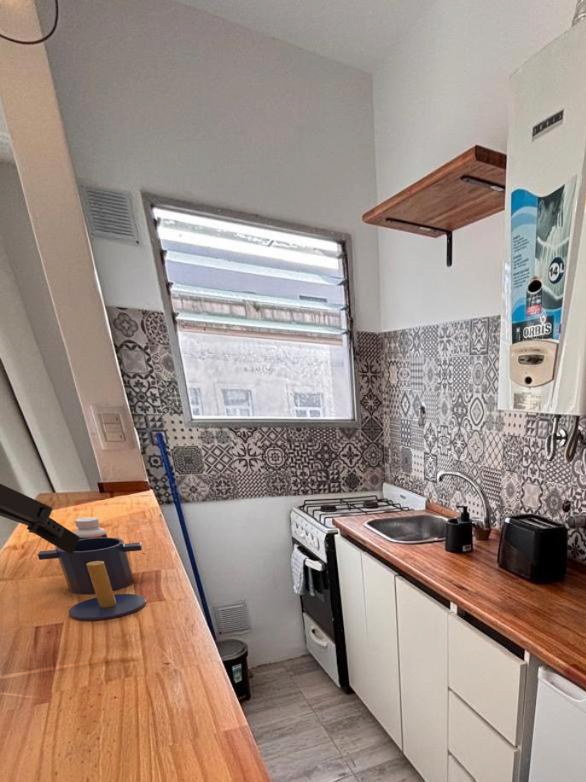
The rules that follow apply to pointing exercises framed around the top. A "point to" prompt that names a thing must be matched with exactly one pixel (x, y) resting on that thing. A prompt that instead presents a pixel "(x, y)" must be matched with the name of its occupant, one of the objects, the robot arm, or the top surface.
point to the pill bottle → (89, 528)
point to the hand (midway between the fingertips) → (31, 542)
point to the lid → (105, 599)
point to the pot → (90, 551)
